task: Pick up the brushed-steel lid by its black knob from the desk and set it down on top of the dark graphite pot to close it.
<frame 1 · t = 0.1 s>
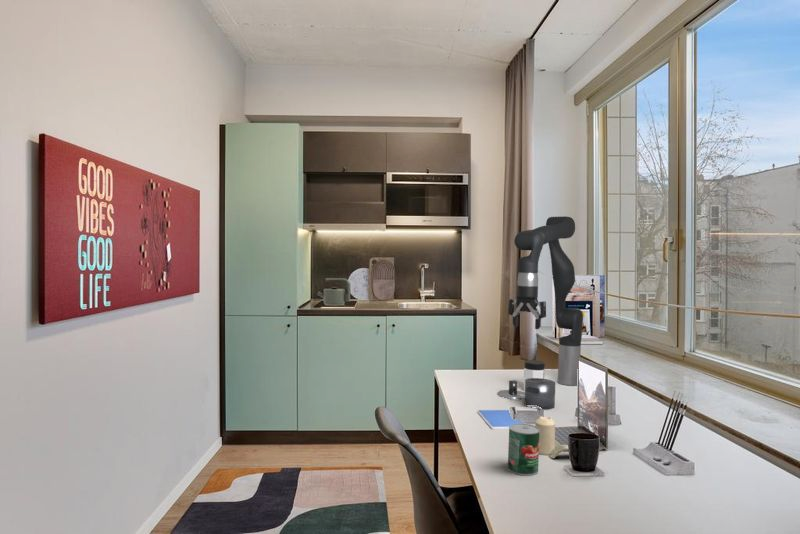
hand: (526, 327, 202), 29 cm above the table, tool pointing down, fingers open, 8 cm apart
lid: (512, 396, 216), on the table
jar: (533, 391, 224), on the table
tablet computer: (501, 422, 184), on the table
candle: (544, 452, 155), on the table
pot: (539, 405, 202), on the table
canned tomato: (522, 470, 142), on the table
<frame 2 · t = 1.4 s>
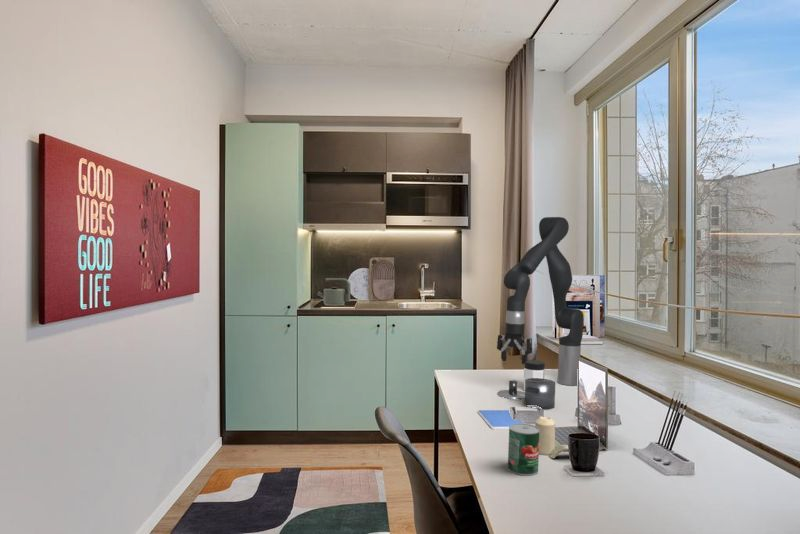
hand: (513, 362, 215), 13 cm above the table, tool pointing down, fingers open, 8 cm apart
nothing on the table moved.
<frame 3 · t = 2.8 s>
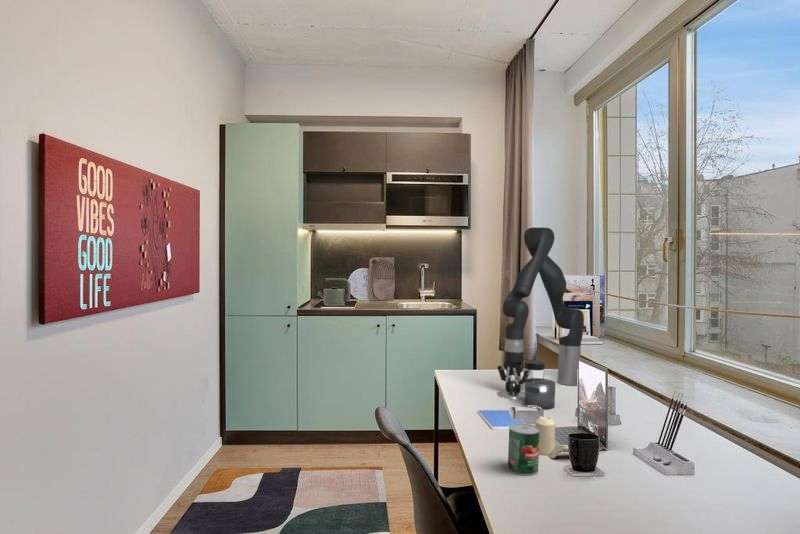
hand: (512, 392, 216), 1 cm above the table, tool pointing down, fingers closed on lid, 3 cm apart
lid: (512, 396, 216), on the table, touching gripper
everything else where it was.
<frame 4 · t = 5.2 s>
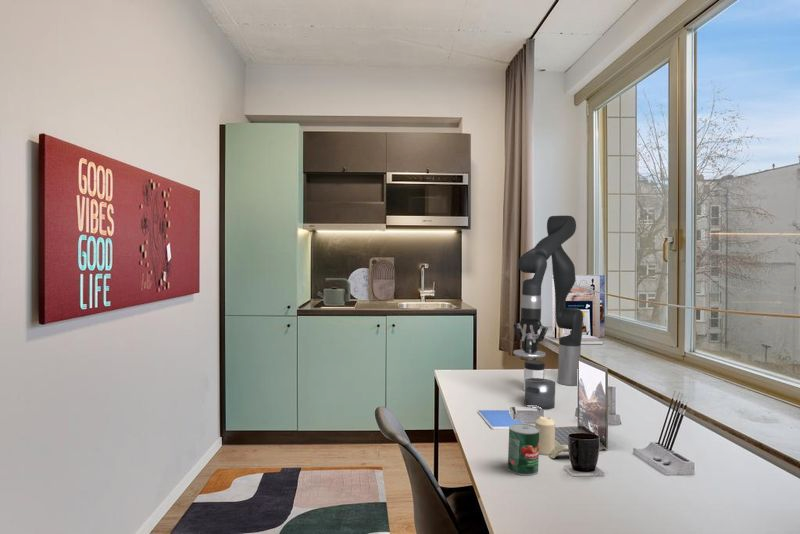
hand: (529, 351, 207), 19 cm above the table, tool pointing down, fingers closed on lid, 3 cm apart
lid: (529, 354, 207), point 18 cm above the table, touching gripper
everything else where it was.
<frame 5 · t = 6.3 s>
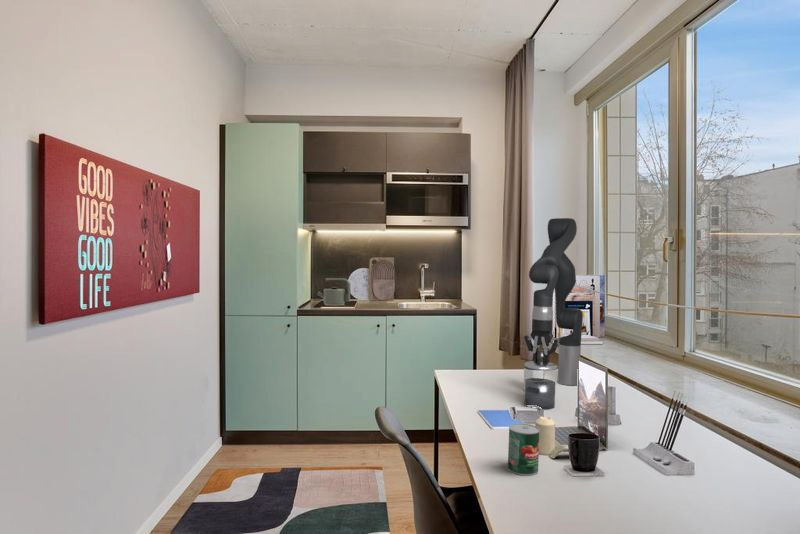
hand: (540, 363, 202), 16 cm above the table, tool pointing down, fingers closed on lid, 3 cm apart
lid: (540, 367, 202), point 15 cm above the table, touching gripper
everything else where it was.
when the fingers open (12 cm above the table, at t = 7.3 s): lid drops 1 cm, resting on pot.
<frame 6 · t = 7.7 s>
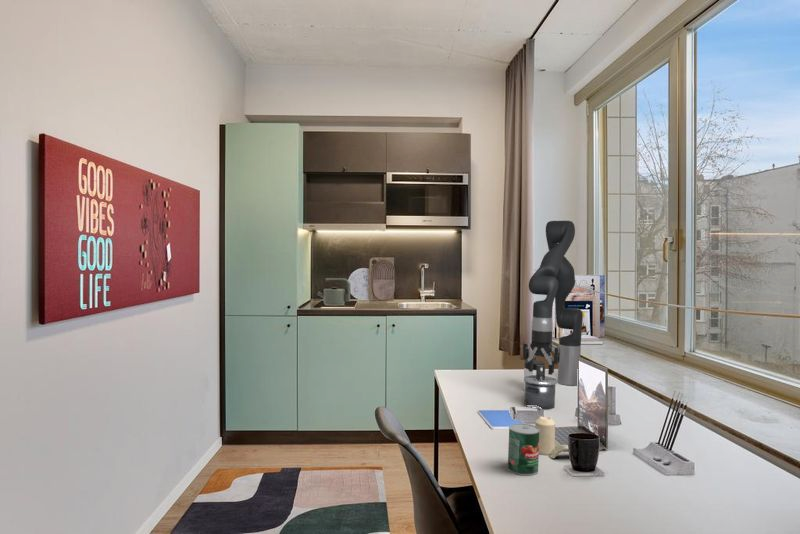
hand: (540, 372, 202), 12 cm above the table, tool pointing down, fingers open, 7 cm apart
lid: (540, 381, 202), point 9 cm above the table, touching pot
everything else where it was.
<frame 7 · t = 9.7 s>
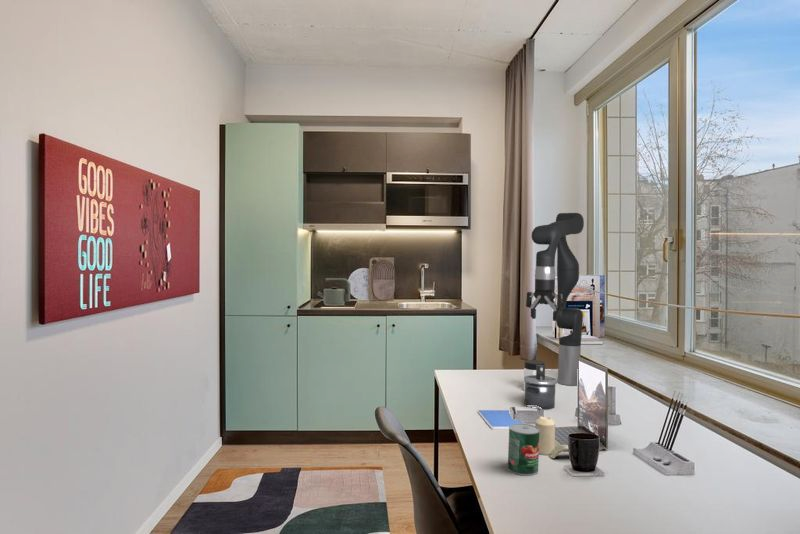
hand: (544, 319, 209), 32 cm above the table, tool pointing down, fingers open, 8 cm apart
nothing on the table moved.
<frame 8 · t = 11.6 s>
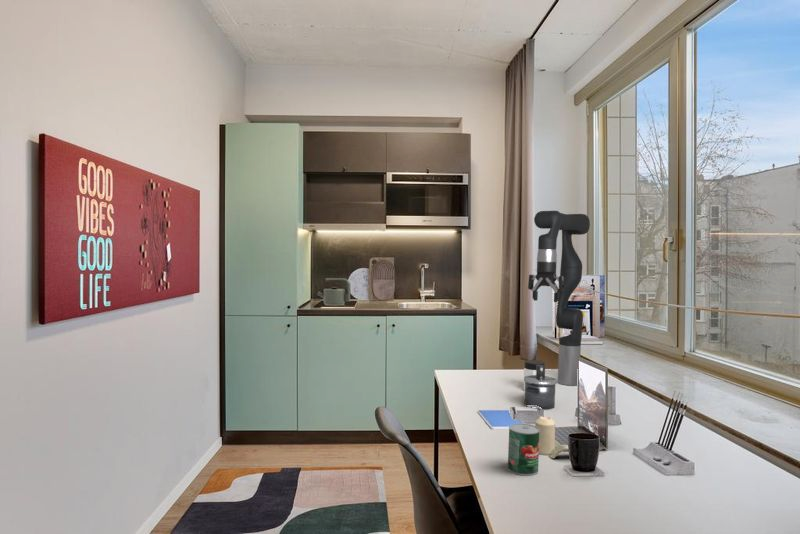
hand: (545, 301, 215), 38 cm above the table, tool pointing down, fingers open, 8 cm apart
nothing on the table moved.
at the end: lid 0.0 cm off-centre on the pot, point 9.0 cm above the pot's base; lid tilted 0°; the gripper is holding nothing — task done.
